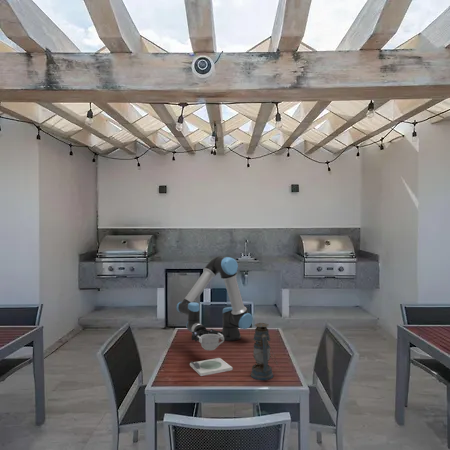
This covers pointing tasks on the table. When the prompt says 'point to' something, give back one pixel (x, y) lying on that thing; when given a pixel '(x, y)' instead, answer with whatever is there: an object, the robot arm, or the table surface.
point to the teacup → (211, 341)
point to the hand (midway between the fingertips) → (212, 339)
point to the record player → (210, 366)
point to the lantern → (262, 353)
